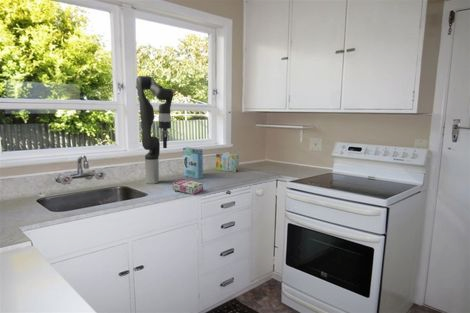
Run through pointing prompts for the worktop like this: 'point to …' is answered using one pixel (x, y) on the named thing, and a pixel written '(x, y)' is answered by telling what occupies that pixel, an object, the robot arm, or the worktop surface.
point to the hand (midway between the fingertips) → (164, 147)
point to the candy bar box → (188, 186)
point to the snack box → (227, 162)
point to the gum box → (193, 162)
